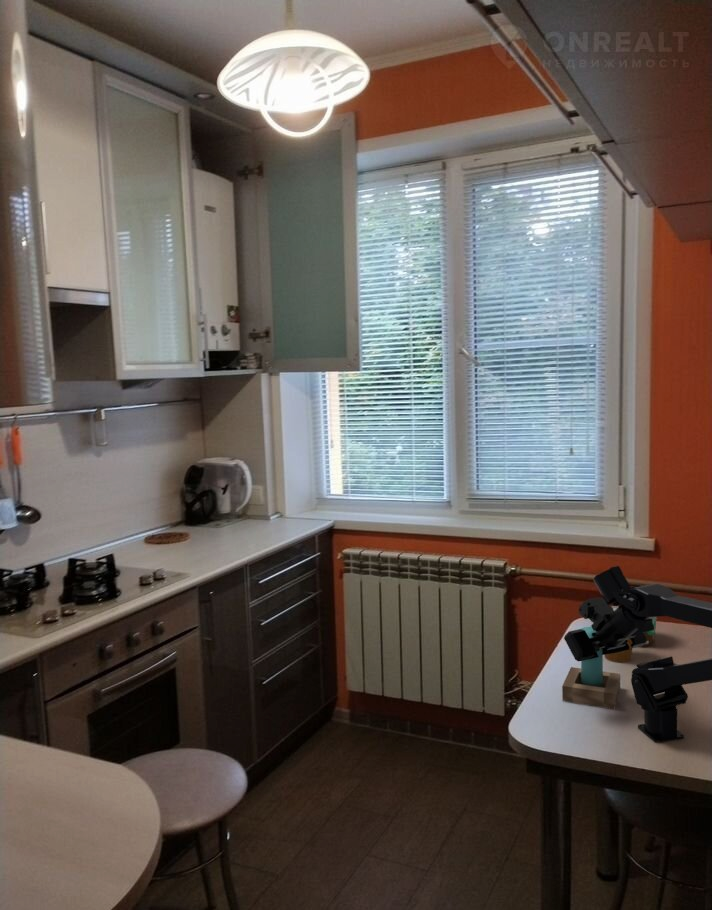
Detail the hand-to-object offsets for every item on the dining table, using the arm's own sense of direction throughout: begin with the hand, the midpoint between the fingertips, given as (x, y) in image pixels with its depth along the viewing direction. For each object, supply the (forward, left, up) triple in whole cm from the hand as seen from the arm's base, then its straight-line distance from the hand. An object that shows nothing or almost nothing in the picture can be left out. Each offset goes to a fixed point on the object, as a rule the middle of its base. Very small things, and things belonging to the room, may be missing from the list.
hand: (587, 655), depth 165 cm
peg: (-1, 0, -7) cm, 7 cm away
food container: (+24, -30, -9) cm, 39 cm away
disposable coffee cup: (+16, -17, -9) cm, 25 cm away
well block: (-1, 0, -9) cm, 9 cm away
